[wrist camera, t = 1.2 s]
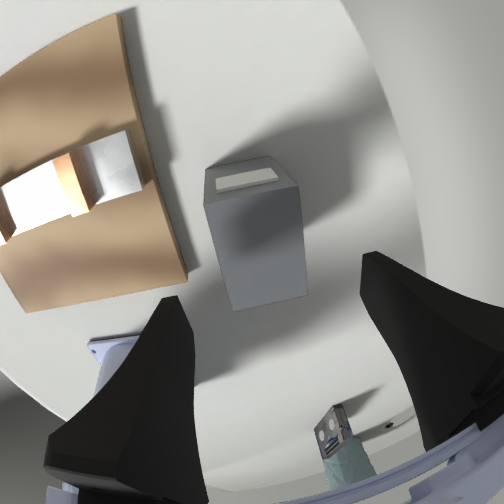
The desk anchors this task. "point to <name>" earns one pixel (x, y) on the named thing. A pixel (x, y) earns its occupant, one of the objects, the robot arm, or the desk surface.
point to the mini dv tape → (333, 431)
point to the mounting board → (69, 138)
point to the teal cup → (348, 465)
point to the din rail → (71, 184)
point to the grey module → (256, 231)
